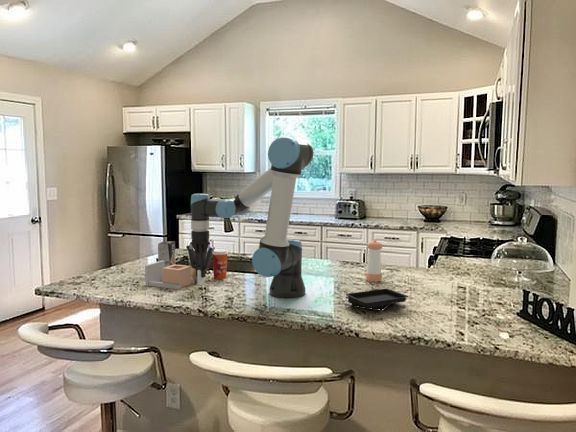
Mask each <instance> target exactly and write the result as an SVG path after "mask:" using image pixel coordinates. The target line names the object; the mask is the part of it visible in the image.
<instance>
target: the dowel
mask: <svg viewBox="0 0 576 432" xmlns="http://www.w3.org/2000/svg"><path fill="white" fill-rule="evenodd" d="M194 254H195V253H194ZM192 279H194V283H195V282H196V283H198V278H197V277H196V269H195V268H192Z"/></svg>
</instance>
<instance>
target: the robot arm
mask: <svg viewBox="0 0 576 432" xmlns="http://www.w3.org/2000/svg"><path fill="white" fill-rule="evenodd" d="M314 155H315V152H314V148H313V146H312V144H311V143H310V142H309V141H308V140H306V138H305V139H304V138H303V137H302V138H301V137H294V136H293V137H292V136H280V137H277V138H275V140H273V141H272V142H271V143H270V145H269V147H268V149H267V157H268V158H267V159H268V161H269V162H270V164H271V166H270V168H269V169H268V170H266V171H265V172H264V173H262V174H261V175H260V176H259V177H258V178H256V179H254V181H252V182H251V183H250V184H249V185H247V186H246V187H245V188H243V189H242V190H241V191H240V192H239V193H238V194H236V195H235V196H234V197H230V198H219V199H217V198H216V199H215V198H214V199H212V198H210V195H209V194H208V193H193V194H191V197H190V213H191V214H190V216H191V218H190V219H191V220H190V230H191V232H190V238H191V242H190V244H189V245H186V246H185V248H186V250H187V252H188V256H189V262H190V266H192V268H195V269H196V277H197V278H198V282H197V286H203V285H204V284H205V277H206V271H207V269H210V267H211V262H212V259H213V257H212V253H213V251H214V250H216V248H215V246H212V245H211V243H210V230H209V229H210V218H219V219H231V218H232V217H233V216H241V215H244V214H247V213H248V211H249V210H250V207H252V206H253V205H254V204H256V203H257V202H258V201H259V200H261V199H262V198H263V197H265V196H267V194H269V193H270V199H269V205H268V212H267V219H266V225H265V232H264V236H262V237H261V238H260V240H259V244H258V248H257V249H256V250H255V251H253V254H252V259H251V262H252V266H253V268H254V269H255V271H256V272H257V274H258V275H261V277H264V278H270V277H272V280H271V283H270V286H269V295H271V296H273V297H276V298H283V299H284V298H286V299H290V298H291V299H292V298H299V297H303V296H305V295H306V286H305V283H304V280H303V276H302V275H303V274H302V265H303V263H302V260H303V259H302V257H303V247H302V246H303V245H302V241H301V240H299V239H293V238H289V239H288V231H289V226H290V225H289V223H290V219H291V213H292V206H293V200H294V193H295V187H296V182H297V178H299V177H300V176H301V175H302V171H303V170H304V169H305V168H307V167H308V166H309V165H310V164H311V162H312V160H313V159H314ZM194 253H195V254H194Z"/></svg>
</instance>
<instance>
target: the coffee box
mask: <svg viewBox="0 0 576 432" xmlns="http://www.w3.org/2000/svg"><path fill="white" fill-rule="evenodd" d="M162 260H163V261H165V267H168V266H171V265H174V264H176V241H175V240H173V241H172V240H171V241H170V240H169V241H167V240H166V241H165V240H164V241H162V242H159V243H157V262H158V261H162Z"/></svg>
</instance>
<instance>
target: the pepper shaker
mask: <svg viewBox="0 0 576 432" xmlns="http://www.w3.org/2000/svg"><path fill="white" fill-rule="evenodd" d="M367 249H368V258H367V259H368V260H367V265H366V266H367V267H366V270H367V271H366V273H365V274H366V275H365V281H367V280H368V281H367V282H370V281H381V280H382V281H383V273H382V261H381V254H382V253H381V251H382V249H383V244H382V242H379V241H377V240H376V239H374V240H373V241H370V242H368V243H367ZM382 281H381V282H382Z"/></svg>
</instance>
